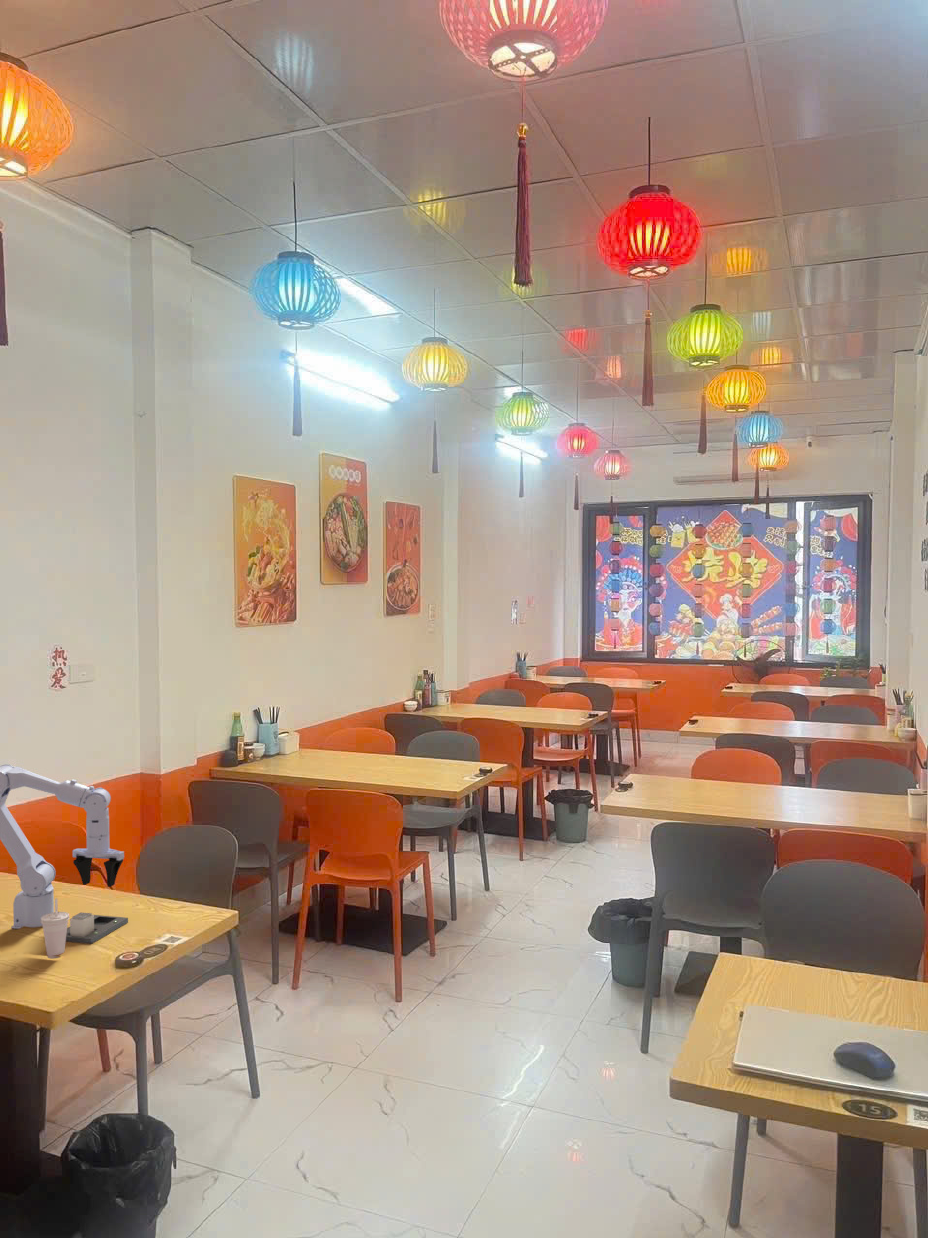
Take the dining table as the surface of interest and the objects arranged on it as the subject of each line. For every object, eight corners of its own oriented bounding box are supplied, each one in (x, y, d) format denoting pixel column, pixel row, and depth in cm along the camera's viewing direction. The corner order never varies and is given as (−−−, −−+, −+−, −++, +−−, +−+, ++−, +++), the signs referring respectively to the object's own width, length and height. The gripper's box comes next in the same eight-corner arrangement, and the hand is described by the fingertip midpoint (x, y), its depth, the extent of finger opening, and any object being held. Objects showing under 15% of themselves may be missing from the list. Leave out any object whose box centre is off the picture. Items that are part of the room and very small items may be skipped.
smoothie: (51, 963, 209) (50, 904, 208) (35, 957, 212) (34, 900, 212) (75, 953, 214) (74, 897, 214) (59, 948, 217) (59, 892, 217)
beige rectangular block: (70, 938, 222) (69, 917, 221) (80, 933, 225) (80, 911, 225) (84, 940, 221) (83, 918, 221) (94, 934, 225) (93, 913, 224)
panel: (53, 943, 221) (53, 934, 221) (92, 922, 235) (91, 914, 235) (91, 947, 218) (91, 938, 218) (128, 925, 233) (128, 917, 233)
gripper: (64, 837, 233) (65, 887, 234) (112, 840, 230) (113, 891, 230) (81, 830, 240) (82, 879, 240) (128, 833, 237) (129, 883, 237)
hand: (98, 884), depth 236 cm, fingers open, 7 cm apart
